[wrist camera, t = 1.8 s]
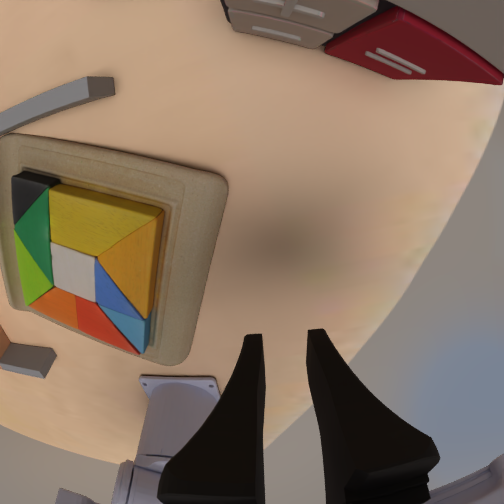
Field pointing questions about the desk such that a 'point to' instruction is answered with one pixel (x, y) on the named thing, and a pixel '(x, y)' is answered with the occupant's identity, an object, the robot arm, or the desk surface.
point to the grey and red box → (388, 34)
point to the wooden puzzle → (108, 242)
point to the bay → (48, 103)
